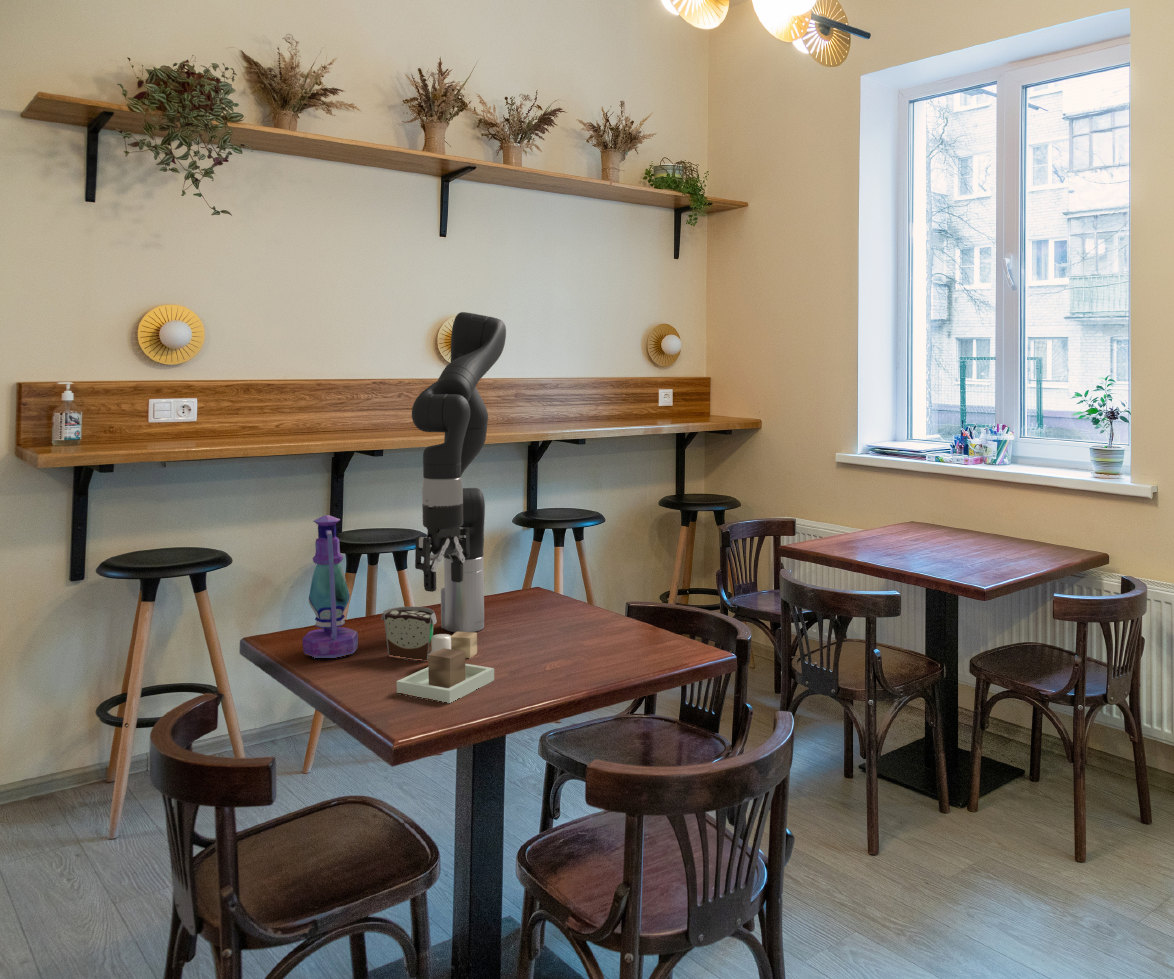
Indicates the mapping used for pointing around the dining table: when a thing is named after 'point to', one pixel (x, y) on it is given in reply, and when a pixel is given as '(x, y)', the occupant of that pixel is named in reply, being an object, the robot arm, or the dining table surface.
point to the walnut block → (446, 667)
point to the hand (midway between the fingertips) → (443, 586)
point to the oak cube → (465, 643)
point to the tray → (421, 688)
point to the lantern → (329, 597)
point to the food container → (409, 631)
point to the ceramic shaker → (440, 642)
